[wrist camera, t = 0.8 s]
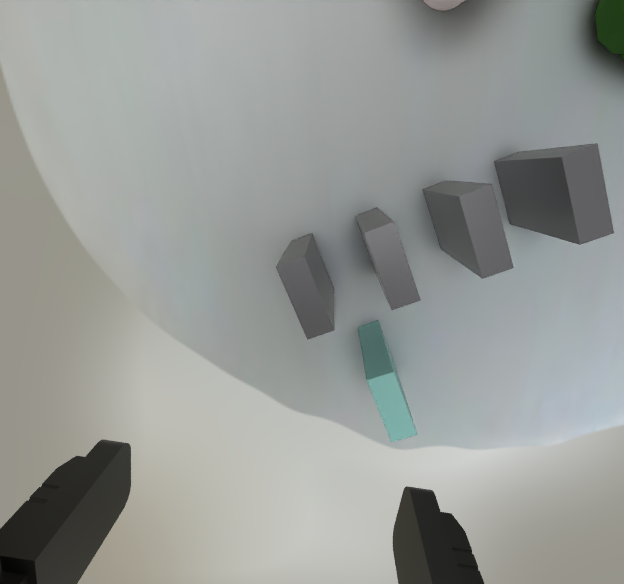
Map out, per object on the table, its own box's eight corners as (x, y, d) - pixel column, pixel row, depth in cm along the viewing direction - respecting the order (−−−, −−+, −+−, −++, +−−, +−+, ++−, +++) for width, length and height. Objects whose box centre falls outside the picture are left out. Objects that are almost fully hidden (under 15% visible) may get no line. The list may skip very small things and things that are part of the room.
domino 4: (445, 180, 30) (491, 184, 21) (463, 241, 31) (513, 267, 22) (422, 189, 30) (458, 196, 21) (441, 249, 31) (482, 278, 23)
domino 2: (376, 207, 30) (393, 221, 22) (396, 265, 32) (420, 300, 23) (355, 216, 31) (363, 233, 22) (375, 273, 32) (391, 310, 23)
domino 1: (311, 233, 31) (303, 256, 23) (334, 288, 33) (334, 330, 24) (291, 241, 32) (275, 266, 23) (314, 295, 33) (307, 339, 24)
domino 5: (518, 151, 29) (597, 143, 20) (533, 215, 30) (613, 232, 21) (494, 161, 29) (561, 156, 20) (510, 224, 30) (580, 244, 22)
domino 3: (377, 320, 33) (393, 371, 25) (396, 369, 35) (417, 434, 26) (358, 327, 34) (366, 380, 25) (377, 375, 35) (391, 442, 26)
